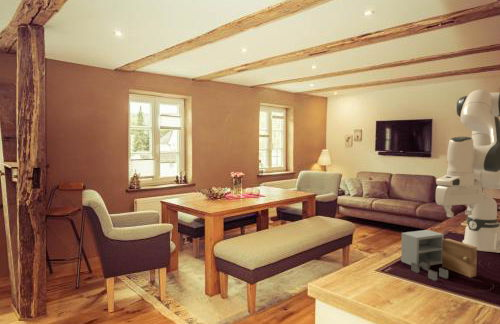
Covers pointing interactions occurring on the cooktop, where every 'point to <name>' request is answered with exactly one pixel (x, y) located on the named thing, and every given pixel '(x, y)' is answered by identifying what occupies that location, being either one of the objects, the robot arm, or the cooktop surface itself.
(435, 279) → the hinge clips
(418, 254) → the cabinet
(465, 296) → the cooktop surface
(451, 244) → the door
